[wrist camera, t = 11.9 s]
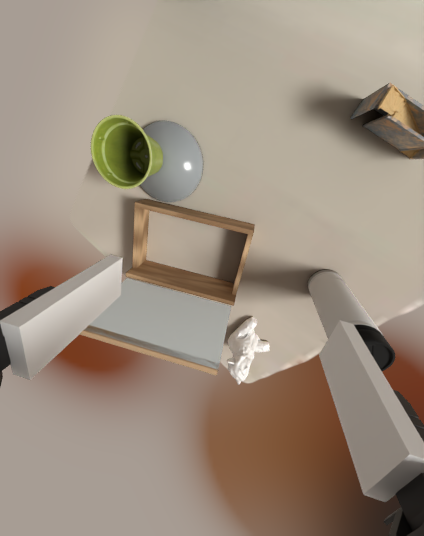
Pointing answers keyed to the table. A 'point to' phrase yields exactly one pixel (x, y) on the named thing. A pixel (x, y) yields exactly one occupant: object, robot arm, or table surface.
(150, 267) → the frame
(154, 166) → the plant pot
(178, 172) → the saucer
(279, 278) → the table surface
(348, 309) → the travel mug
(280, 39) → the table surface
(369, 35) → the table surface
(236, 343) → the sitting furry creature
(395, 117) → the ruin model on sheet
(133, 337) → the lid
